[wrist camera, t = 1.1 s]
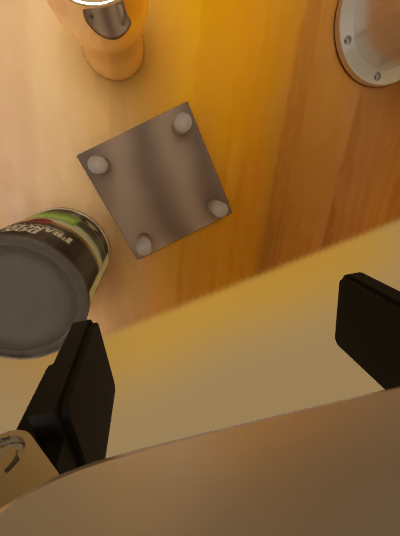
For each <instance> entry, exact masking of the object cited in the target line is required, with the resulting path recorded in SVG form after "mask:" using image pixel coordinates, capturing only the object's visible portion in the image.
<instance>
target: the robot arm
mask: <svg viewBox="0 0 400 536" xmlns="http://www.w3.org/2000/svg"><path fill="white" fill-rule="evenodd" d="M335 41H336V47H337V51H338V54H339V57H340V61H341V62H342V64H343V66H344V68H345V70H346V71H347V72H348V73H349V74H350V76H351V77H352V78H354V79H355V80H356V81H358V82H359V83H361V84H364V85H366V86H372V87H380V86H386V85H389V84H392V83H395V82H397V81H399V80H400V0H339V3H338V7H337V11H336V18H335ZM335 340H336V342H337V344H338V345H339V347H341V348H342V349H343V350H344V351H345V352H346V353H347V354H348V355H349V356H350V357H351V358H352V359H353V360H354V361H355V362H356V363H358V364H359V365H360V366H361V367H362V368H363V369H364V370H365V371H366V372H367V373H368V374H369V375H370V376H371V377H373V378H374V379H375V380H376V381H377V382H378V383H379V384H380V385H381V386H382V387H383V388H384V389H385V390H382V391H378V392H374V393H370V394H365V395H361V396H356V397H352V398H348V399H344V400H339V401H335V402H331V403H327V404H323V405H318V406H314V407H310V408H305V409H301V410H297V411H293V412H289V413H284V414H281V415H276V416H272V417H268V418H264V419H259V420H256V421H251V422H248V423H243V424H239V425H235V426H231V427H227V428H222V429H219V430H214V431H210V432H206V433H202V434H198V435H194V436H190V437H185V438H181V439H177V440H174V441H170V442H165V443H161V444H157V445H153V446H149V447H145V448H141V449H138V450H134V451H131V452H127V453H124V454H120V455H116V456H113V457H109V458H106V459H105V456H106V450H107V443H108V436H109V429H110V422H111V415H112V409H113V402H114V394H115V384H114V380H113V376H112V372H111V369H110V365H109V361H108V358H107V354H106V350H105V347H104V343H103V339H102V336H101V332H100V328H99V325H98V323H93V322H92V321H91V320H85V321H79V322H74V323H73V324H72V326H71V328H70V330H69V332H68V334H67V336H66V338H65V340H64V343H63V345H62V347H61V349H60V351H59V353H58V355H57V357H56V359H55V362H54V363H53V364H52V365H50V366H48V368H47V369H46V371H45V374H44V375H43V377H42V379H41V381H40V383H39V385H38V388H37V389H36V391H35V394H34V395H33V397H32V399H31V401H30V403H29V406H28V407H27V409H26V411H25V413H24V415H23V417H22V420H21V422H20V423H19V426H18V428H17V429H16V430H13V431H8V432H5V433H2V434H0V536H400V291H398V290H396V289H394V288H392V287H390V286H388V285H385V284H383V283H382V282H380V281H378V280H376V279H373V278H371V277H370V276H367V275H365V274H364V273H360V272H359V273H353V274H348V275H345V276H344V277H343V279H342V280H340V283H339V295H338V307H337V319H336V331H335Z"/></svg>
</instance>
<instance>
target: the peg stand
mask: <svg viewBox="0 0 400 536" xmlns="http://www.w3.org/2000/svg"><path fill="white" fill-rule="evenodd" d="M77 158H78V159H79V161H80V163H81V164H82V166H83V168H84V169H85V171H86V173H87V175H88V176H89V178H90V180H91V181H92V183H93V185H94V186H95V188H96V190H97V192H98V193H99V195H100V197H101V198H102V200H103V202H104V203H105V205H106V207H107V209H108V210H109V212H110V214H111V215H112V217H113V219H114V221H115V222H116V224H117V226H118V227H119V229H120V231H121V232H122V234H123V236H124V238H125V239H126V241H127V243H128V244H129V246H130V248H131V249H132V251H133V253H134V255H135V256H136V258H137V260H139V259H141V258H143V257H145V256H147V255H149V254H151V253H153V252H155V251H157V250H159V249H161V248H163V247H165V246H167V245H169V244H171V243H173V242H175V241H177V240H179V239H181V238H183V237H185V236H187V235H189V234H191V233H193V232H195V231H197V230H199V229H201V228H203V227H205V226H207V225H209V224H211V223H213V222H215V221H217V220H219V219H221V218H223V217H225V216H227V215H229V214H231V213H232V211H231V208H230V206H229V203H228V201H227V198H226V196H225V193H224V191H223V188H222V186H221V183H220V181H219V178H218V176H217V173H216V171H215V169H214V166H213V164H212V161H211V159H210V156H209V154H208V151H207V149H206V146H205V144H204V141H203V139H202V136H201V134H200V132H199V129H198V127H197V124H196V122H195V119H194V117H193V114H192V112H191V109H190V107H189V104H188V102H185V103H183V104H181V105H179V106H177V107H175V108H173V109H171V110H169V111H167V112H164V113H162V114H160V115H158V116H156V117H154V118H152V119H150V120H148V121H146V122H144V123H142V124H140V125H138V126H136V127H134V128H132V129H130V130H128V131H126V132H124V133H122V134H120V135H118V136H116V137H114V138H112V139H110V140H107V141H105V142H103V143H101V144H99V145H97V146H95V147H93V148H91V149H89V150H87V151H85V152H83V153H81V154H79V155H77Z"/></svg>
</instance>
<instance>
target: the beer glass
mask: <svg viewBox="0 0 400 536" xmlns="http://www.w3.org/2000/svg"><path fill="white" fill-rule="evenodd" d="M46 1H47V3H48V5H49V7H50V8H51V10H52V11H53V13H54V14H55V16H56V17H57V19H58V20H59V22H60V23H61V24H62V25H63V27H64V28H65V29H66V30H67V31H68V32H69V33H70V34H71V35H72V36H73V37H74V38H75V39H76V40H77V41H78V42H79V43H80V44H81V48H82V51H83V54H84V56H85V58H86V60H87V62H88V63H89V65H90V66H91V67H92V68H93V69H94V70H95V71H96V72H97V73H98V74H100V75H101V76H103V77H105V78H107V79H111V80H124V79H127V78H129V77H131V76H132V75H133V74H134V73H135V72H136V71H137V70H138V69H139V67H140V65H141V63H142V60H143V55H144V43H143V37H142V34H141V32H142V30H143V27H144V24H145V20H146V16H147V12H148V6H149V0H46Z"/></svg>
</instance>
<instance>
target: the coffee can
mask: <svg viewBox="0 0 400 536" xmlns="http://www.w3.org/2000/svg"><path fill="white" fill-rule="evenodd" d="M109 257H110V248H109V243H108V240H107V237H106V235H105V233H104V232H103V230H102V229H101V227H100V226H99V225H98V224H97V223H96V222H95V221H94V220H93V219H92V218H90V217H89V216H87V215H85V214H83V213H81V212H79V211H76V210H73V209H68V208H51V209H47V210H44V211H41V212H39V213H37V214H36V215H34V216H32V217H29V218H27V219H25V220H22V221H20V222H17V223H15V224H12V225H10V226H7V227H5V228H2V229H0V357H3V358H11V359H32V358H39V357H42V356H46V355H49V354H52V353H54V352H56V351H58V350H60V349H61V347H62V345H63V343H64V340H65V338H66V336H67V334H68V332H69V330H70V328H71V326H72V324H73V323H74V322H79V321H85V320H86V319H87V316H88V312H89V307H90V304H91V302H92V300H93V298H94V295H95V292H96V290H97V287H98V285H99V283H100V280H101V278H102V276H103V273H104V271H105V270H106V267H107V265H108V262H109Z"/></svg>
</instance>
